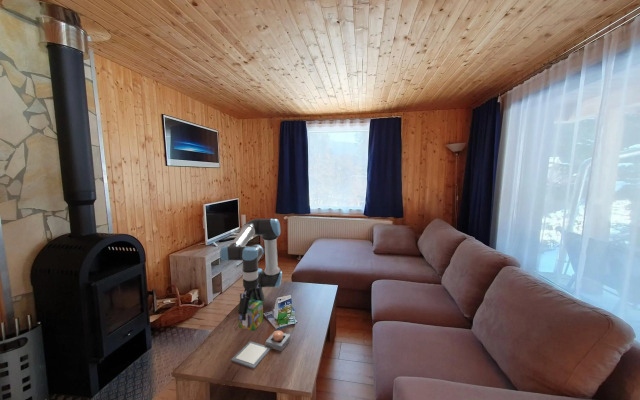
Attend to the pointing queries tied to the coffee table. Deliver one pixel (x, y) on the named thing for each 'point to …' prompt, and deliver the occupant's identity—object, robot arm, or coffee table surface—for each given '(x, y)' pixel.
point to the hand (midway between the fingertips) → (251, 320)
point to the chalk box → (253, 315)
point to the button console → (276, 345)
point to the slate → (251, 354)
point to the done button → (277, 335)
